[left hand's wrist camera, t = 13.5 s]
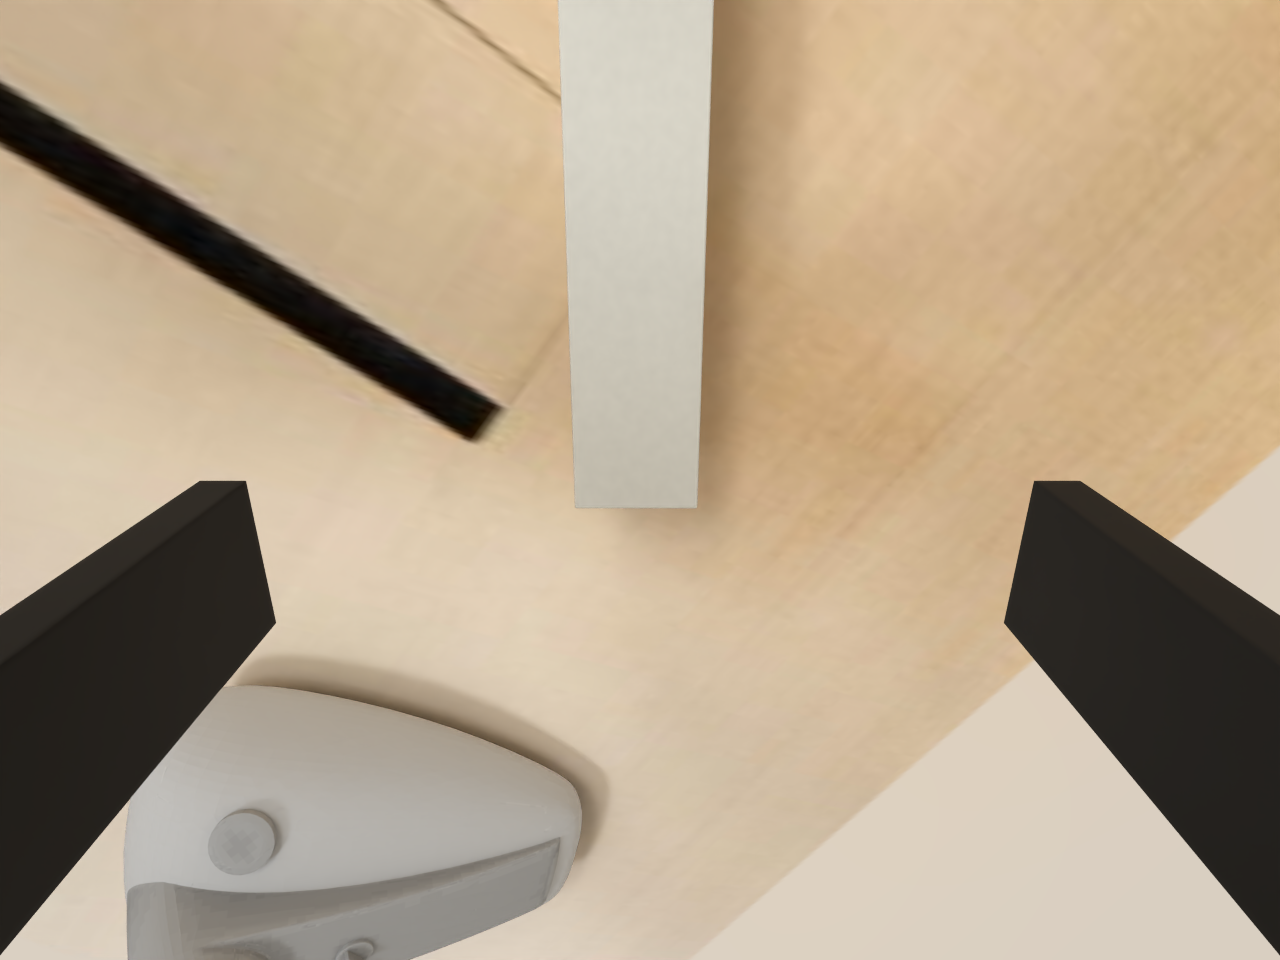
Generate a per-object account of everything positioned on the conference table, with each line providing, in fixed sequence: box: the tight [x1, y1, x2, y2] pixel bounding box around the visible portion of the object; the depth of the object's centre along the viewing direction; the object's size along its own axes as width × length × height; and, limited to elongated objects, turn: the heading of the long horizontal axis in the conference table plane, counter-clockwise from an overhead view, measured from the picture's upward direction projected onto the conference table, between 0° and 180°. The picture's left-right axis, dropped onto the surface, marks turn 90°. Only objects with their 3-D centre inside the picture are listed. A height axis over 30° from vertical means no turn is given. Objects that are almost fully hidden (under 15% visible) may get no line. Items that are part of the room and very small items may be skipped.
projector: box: [124, 685, 582, 960], centre depth 38 cm, size 22×23×15 cm
